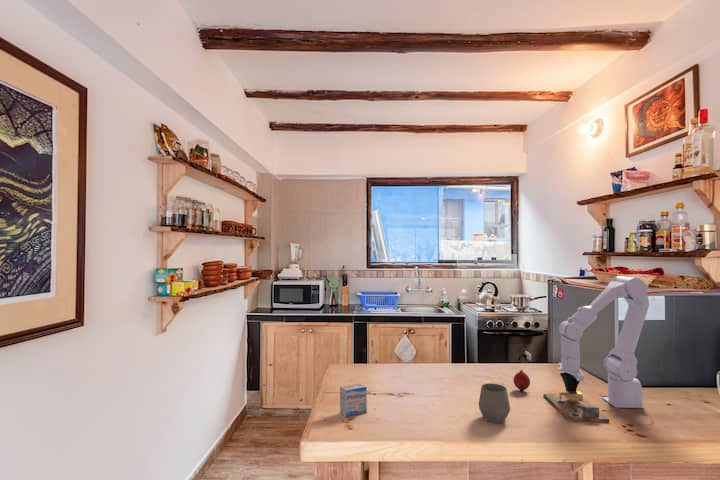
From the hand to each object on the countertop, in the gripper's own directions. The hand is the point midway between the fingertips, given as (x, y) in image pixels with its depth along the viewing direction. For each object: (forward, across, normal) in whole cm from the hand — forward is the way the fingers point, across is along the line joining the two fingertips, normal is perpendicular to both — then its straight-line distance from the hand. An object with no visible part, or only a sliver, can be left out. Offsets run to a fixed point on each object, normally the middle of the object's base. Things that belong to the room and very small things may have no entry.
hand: (570, 394), depth 136 cm
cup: (+3, +15, -30) cm, 34 cm away
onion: (+3, -10, -14) cm, 17 cm away
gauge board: (+2, +5, -2) cm, 6 cm away
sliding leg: (+1, +3, -2) cm, 3 cm away
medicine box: (+3, +13, -76) cm, 77 cm away
